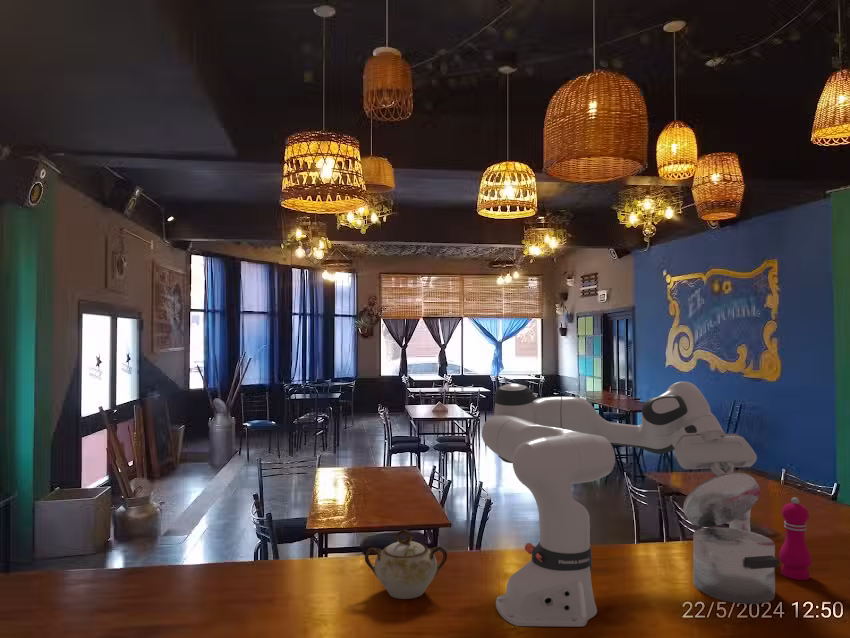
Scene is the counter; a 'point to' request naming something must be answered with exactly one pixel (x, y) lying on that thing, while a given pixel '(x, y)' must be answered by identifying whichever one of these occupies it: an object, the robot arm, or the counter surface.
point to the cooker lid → (721, 499)
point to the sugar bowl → (405, 566)
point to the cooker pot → (734, 565)
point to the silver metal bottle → (741, 522)
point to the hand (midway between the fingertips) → (729, 481)
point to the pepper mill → (795, 542)
